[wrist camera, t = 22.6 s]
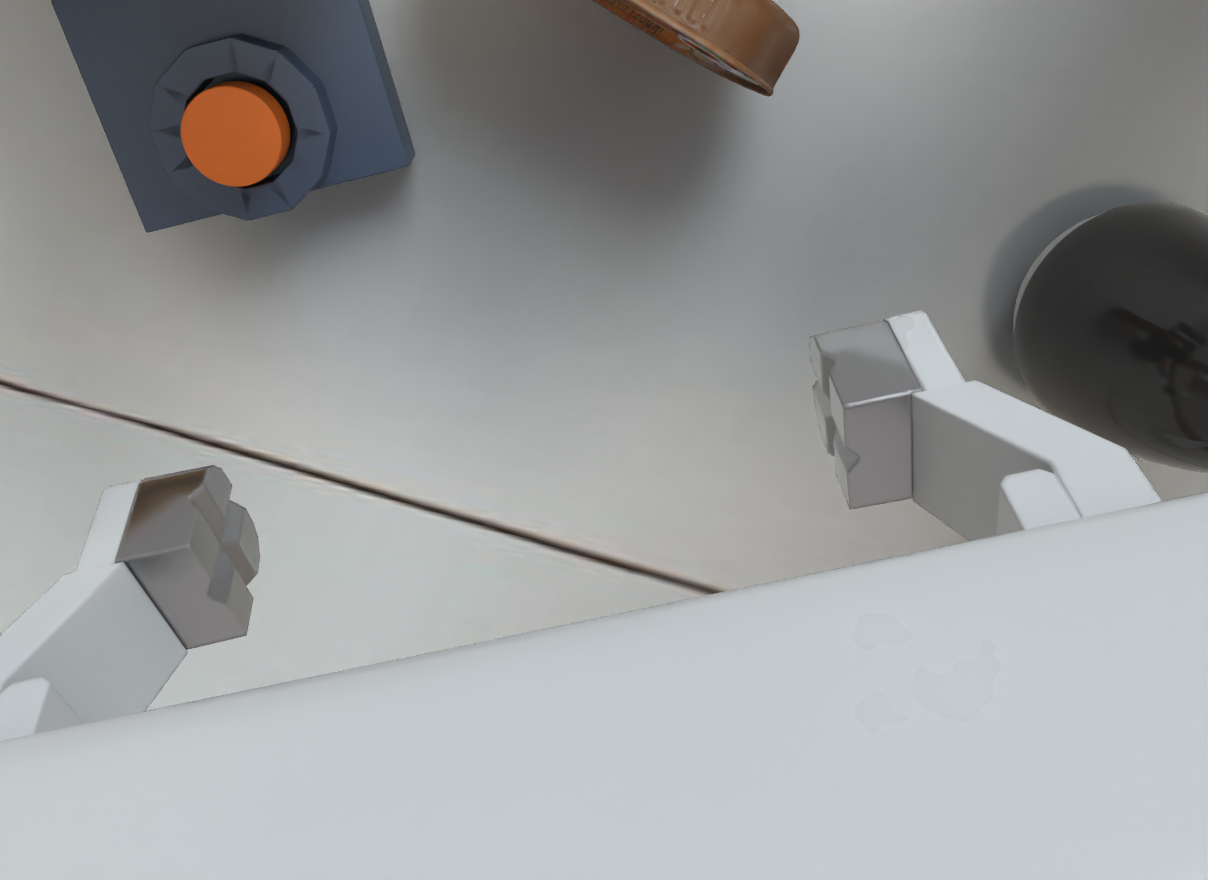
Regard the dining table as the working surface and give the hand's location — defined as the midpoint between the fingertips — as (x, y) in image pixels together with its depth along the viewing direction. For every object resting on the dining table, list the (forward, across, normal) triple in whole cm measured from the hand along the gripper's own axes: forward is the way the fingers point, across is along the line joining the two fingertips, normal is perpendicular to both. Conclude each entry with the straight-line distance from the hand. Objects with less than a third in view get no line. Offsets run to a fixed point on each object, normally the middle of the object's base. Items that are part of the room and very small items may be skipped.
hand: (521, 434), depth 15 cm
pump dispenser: (+29, -23, +24) cm, 44 cm away
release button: (+29, +11, +7) cm, 32 cm away
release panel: (+34, +11, +7) cm, 36 cm away
